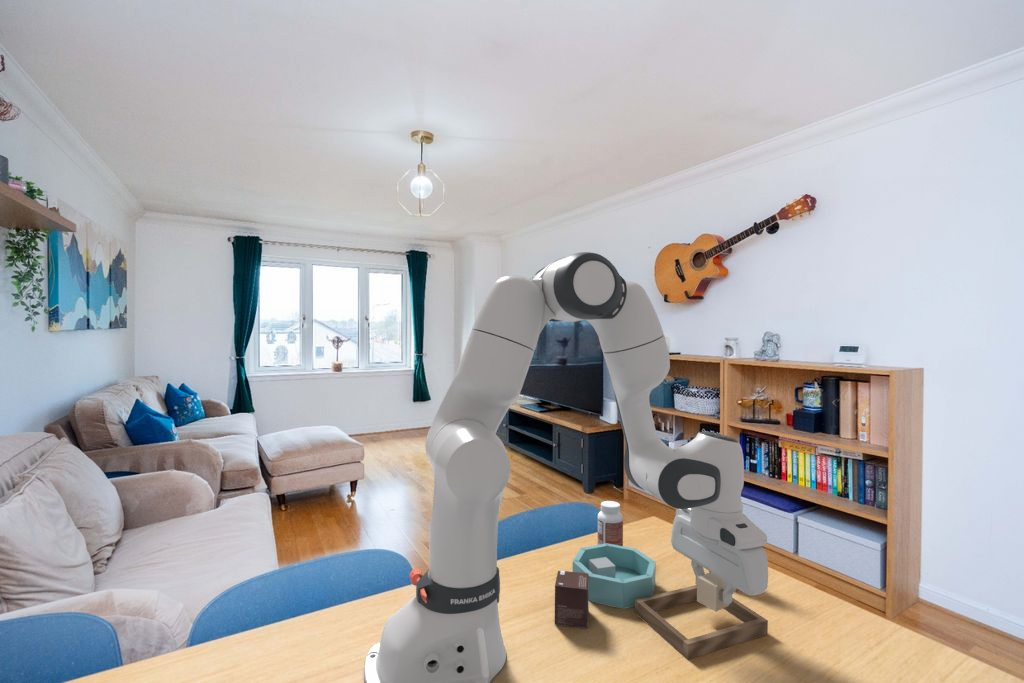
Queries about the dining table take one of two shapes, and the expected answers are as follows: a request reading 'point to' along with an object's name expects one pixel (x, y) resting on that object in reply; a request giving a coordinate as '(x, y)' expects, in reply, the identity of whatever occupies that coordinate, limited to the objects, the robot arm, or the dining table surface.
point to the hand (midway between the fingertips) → (713, 593)
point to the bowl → (618, 575)
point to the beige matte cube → (710, 591)
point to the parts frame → (704, 643)
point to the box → (571, 599)
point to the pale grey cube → (602, 567)
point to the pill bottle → (610, 524)
